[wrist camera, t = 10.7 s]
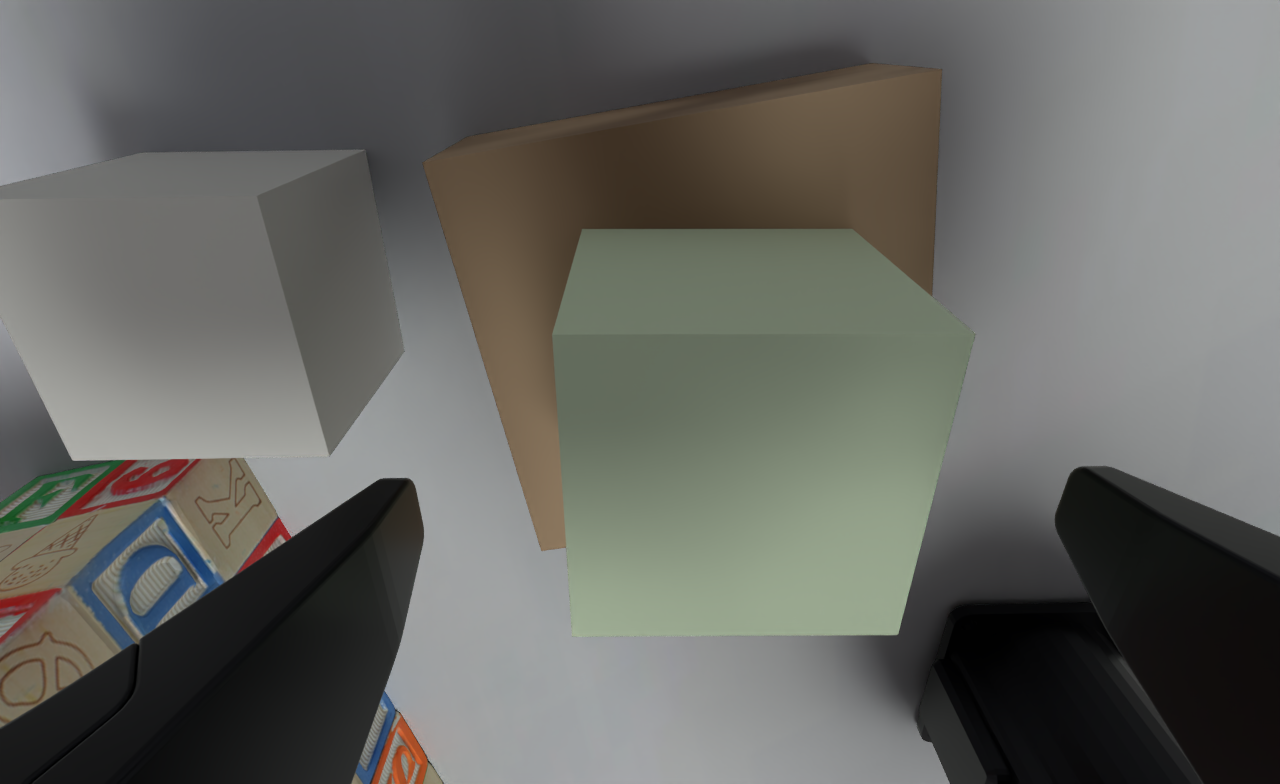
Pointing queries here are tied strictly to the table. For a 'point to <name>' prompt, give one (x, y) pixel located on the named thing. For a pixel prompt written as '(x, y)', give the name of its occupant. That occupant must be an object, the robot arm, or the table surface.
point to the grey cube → (200, 301)
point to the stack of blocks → (139, 577)
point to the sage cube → (748, 431)
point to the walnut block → (672, 209)
